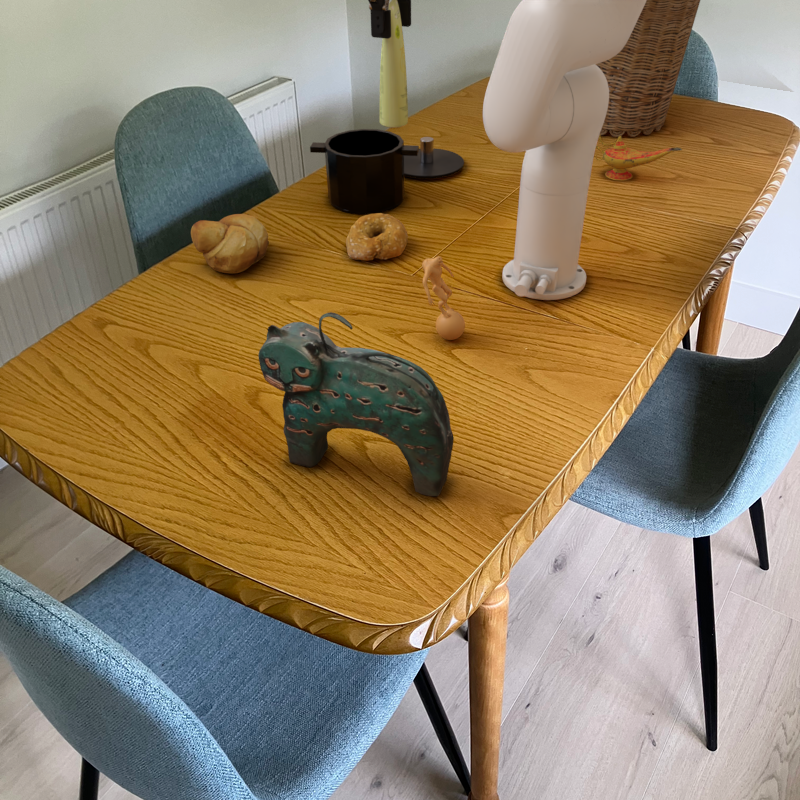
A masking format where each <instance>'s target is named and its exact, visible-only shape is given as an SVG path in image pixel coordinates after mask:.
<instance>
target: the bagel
mask: <svg viewBox="0 0 800 800" xmlns="http://www.w3.org/2000/svg"><path fill="white" fill-rule="evenodd" d="M408 238H409V235H408V231H407V229H406V227H405V225H404V223H403V222H402V221H401V220H399V219H398V218H396V217H395V216H392V215H390V214H388V213H375V214H366V215H363V216H360V217H359V218H357V220H356V221H355V222H354V223H353V225H351V227H350V228H349V231H348V234H347V237H346V239H345V245H346V251H347V255H348V257H349V258H350V259H353V260H357V261H358V260H361V261H366V262H367V261H373V260H374V259H377V260H385V261H386V260H389V259H392V258H397V257H399V256H402V254H403V253H404V251H405V249H406V246H407V244H408V242H409V240H408Z"/></svg>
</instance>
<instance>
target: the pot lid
mask: <svg viewBox="0 0 800 800" xmlns="http://www.w3.org/2000/svg"><path fill="white" fill-rule="evenodd" d="M419 140H420V143H419V152H418V155H417V156H404V177H406V178H412V179H419V180H421V179H422V180H433V179H434V180H435V179H442V178H446V177H450V176H454V175H456V174H458V173H459V172H461V171H462V170H463V169H464V166H465V160H464V158H463V157H462V156H461V155H460V154H458V153H456V152H454V151H451V150H447V149H442V148H435V147H434V146H435V143H434V141H435V139H434V138H433V137H431V136H423V137H421V138H420V139H419Z"/></svg>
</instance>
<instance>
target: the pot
mask: <svg viewBox="0 0 800 800" xmlns="http://www.w3.org/2000/svg"><path fill="white" fill-rule="evenodd" d="M419 149H420V145H409V144H408V145H406V144H405V141H404V139H403V138H402V137H401V135H399V134H396V133H395V132H393V131H389V130H383V129H377V128H359V129H358V128H357V129H349V130H346V131H342V132H341V131H340V132H338V133H334V134H333V135H331V136H329V137H328V138H327V139H326V141H325V142H315V141H313V142H312V143H311V145H309V152H310V153H312V154H313V153H316V154H317V153H318V154H324V159H325V170H326V183H327V184H326V185H327V195H328V197H327V198H328V201H329V204H330V205H331V207H332V208H334V209H336V210H337V211H340V212H343V213H347V214H351V215H363V216H365V215H369V214H375V213H382V214H384V213H386V212H389V211H393V210H394V209H396V208H398V207H399V206H400V205H402V204H403V202H404V200H405V176H404V156H417V155H418V152H419Z"/></svg>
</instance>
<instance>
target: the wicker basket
mask: <svg viewBox="0 0 800 800" xmlns="http://www.w3.org/2000/svg"><path fill="white" fill-rule="evenodd" d="M700 3H701V0H647V1H646V3H645V5H644V7H643V9H642V12H641V14H640V16H639V18H638V20H637V22H636V24H635V27H634V29H633V31H632V33H631V35H630V37H629V39H628V41H627V43H626V44H625V46H624V48H623V49H622V50H621V51H620V52H619V53H618V54H617V55H615V56H614V57H612V58H611V59H609V60H606V61H604V62H601V63H598V64H595V65H597V66H598V67H599V68H600V69H601V71H602V72H603V73H604V75H605V77H606V80H607V83H608V88H609V103H608V109H607V113H606V117H605V120H604V123H603V126H602V129H601V132H600V136H601V137H603V136H604V135H606V134H607V133H608V132H609V134H610V136H611V137H614V138H618V137H619V136H621V137H623V136H624V135H625V133H626V134H627V136H628V137H630V138H635V137H637V136H639V135H640V134H641V132H642V134H643V135H645V136H648V135H650V134H652V133H653V132H654V131H655V132H659V131H660V130H661V128H662V127H664V125H665V121H666V119H667V115H668V111H669V108H670V105H671V102H672V99H673V96H674V92H675V88H676V85H677V81H678V78H679V75H680V71H681V68H682V64H683V61H684V58H685V54H686V51H687V47H688V44H689V41H690V37H691V34H692V30H693V26H694V23H695V20H696V17H697V14H698V9H699V7H700Z"/></svg>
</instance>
